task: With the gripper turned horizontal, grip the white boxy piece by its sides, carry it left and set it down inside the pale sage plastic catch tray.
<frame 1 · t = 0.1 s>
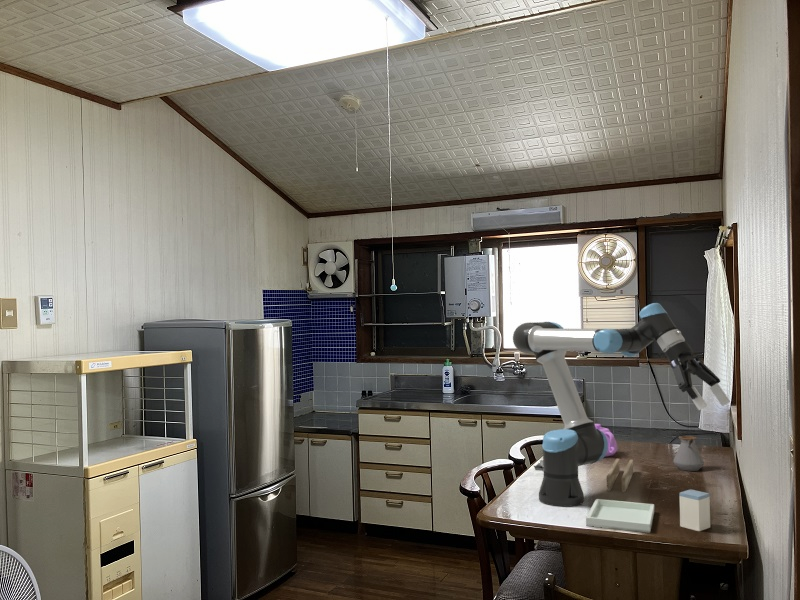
hand: (715, 406, 199), 36 cm above the table, tool tilted 35°, fingers open, 13 cm apart
coffee pot: (689, 472, 266), on the table
catch tray: (621, 518, 207), on the table
white boxy piece: (695, 526, 198), on the table
teapot: (593, 455, 300), on the table
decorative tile: (552, 470, 274), on the table
squeegee caddy: (620, 480, 253), on the table
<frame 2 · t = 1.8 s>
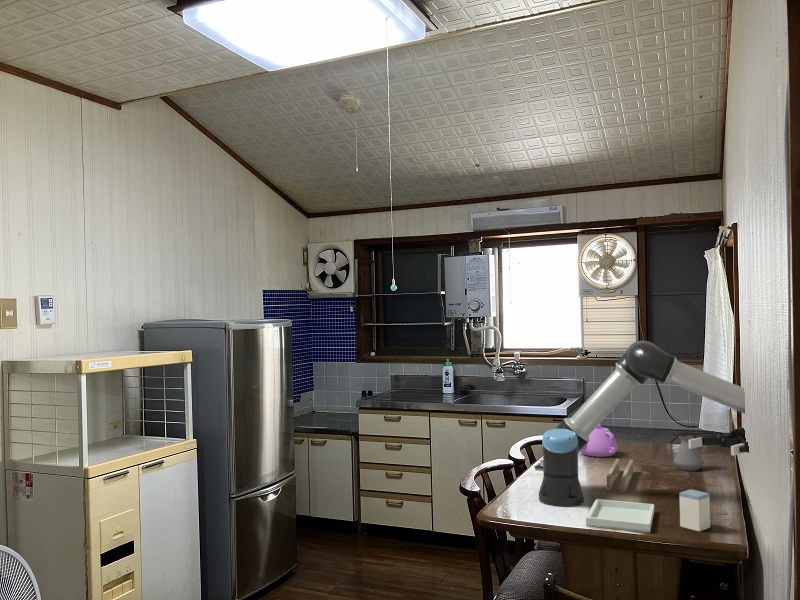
hand: (710, 447, 204), 22 cm above the table, tool horizontal, fingers open, 13 cm apart
nothing on the table moved.
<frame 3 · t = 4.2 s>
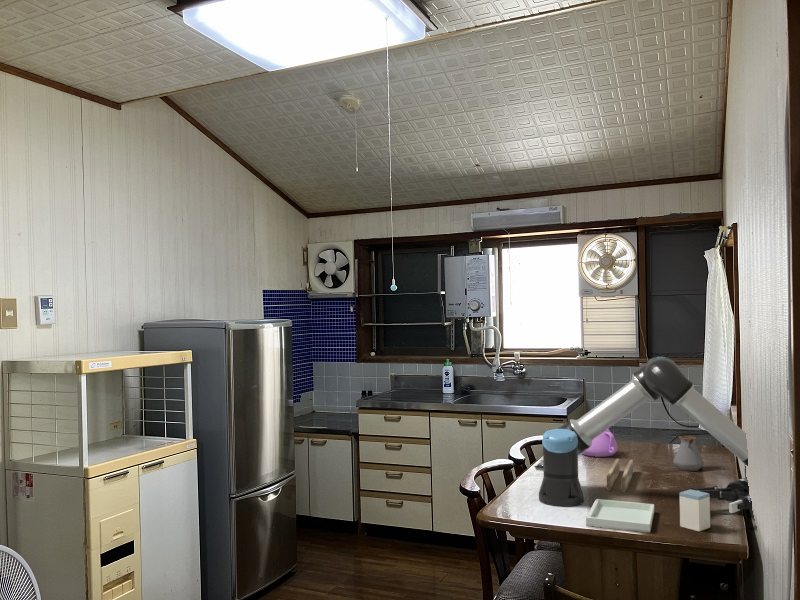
hand: (708, 503, 202), 6 cm above the table, tool horizontal, fingers open, 13 cm apart
nothing on the table moved.
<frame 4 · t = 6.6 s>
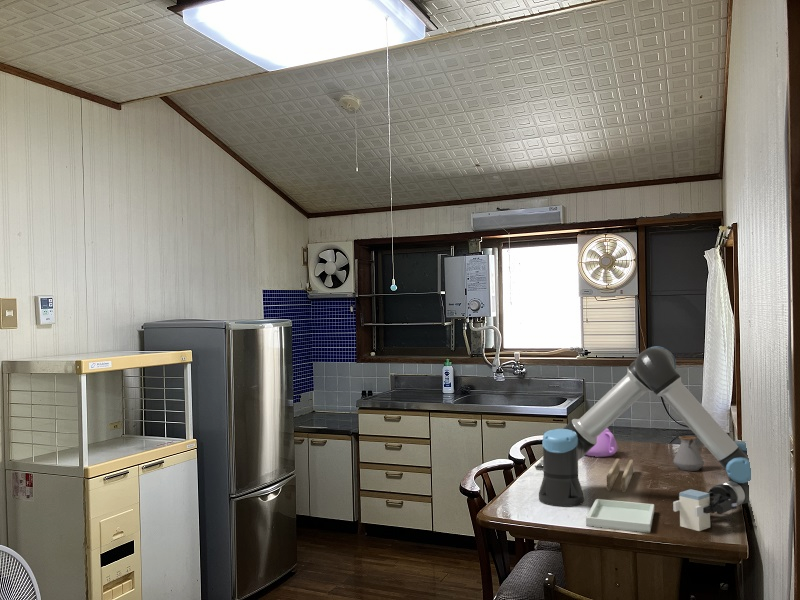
hand: (685, 509, 195), 6 cm above the table, tool horizontal, fingers closed on white boxy piece, 6 cm apart
white boxy piece: (695, 526, 198), on the table, touching gripper
everything else where it was.
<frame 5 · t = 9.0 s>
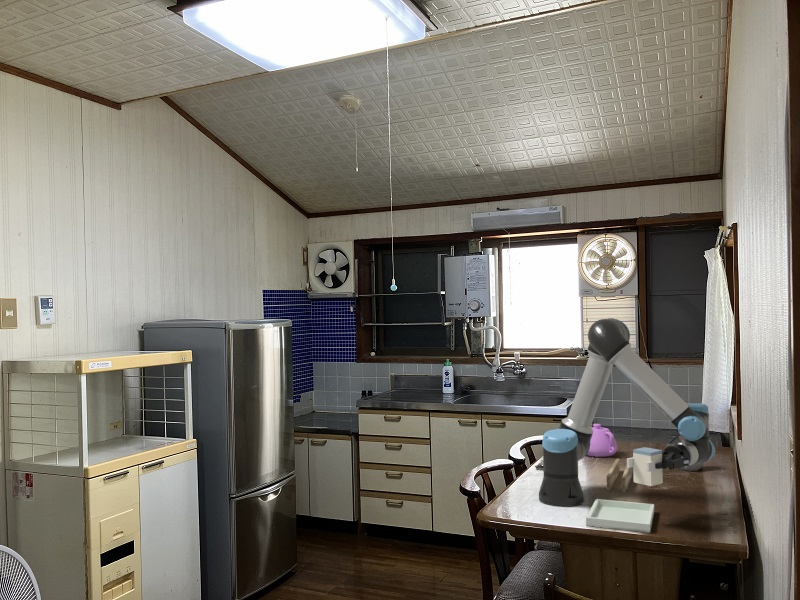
hand: (637, 465, 201), 18 cm above the table, tool horizontal, fingers closed on white boxy piece, 6 cm apart
white boxy piece: (648, 482, 203), point 12 cm above the table, touching gripper
everything else where it was.
when the fingers open (8 cm above the table, at t = 11.7 s): white boxy piece drops 1 cm, resting on catch tray.
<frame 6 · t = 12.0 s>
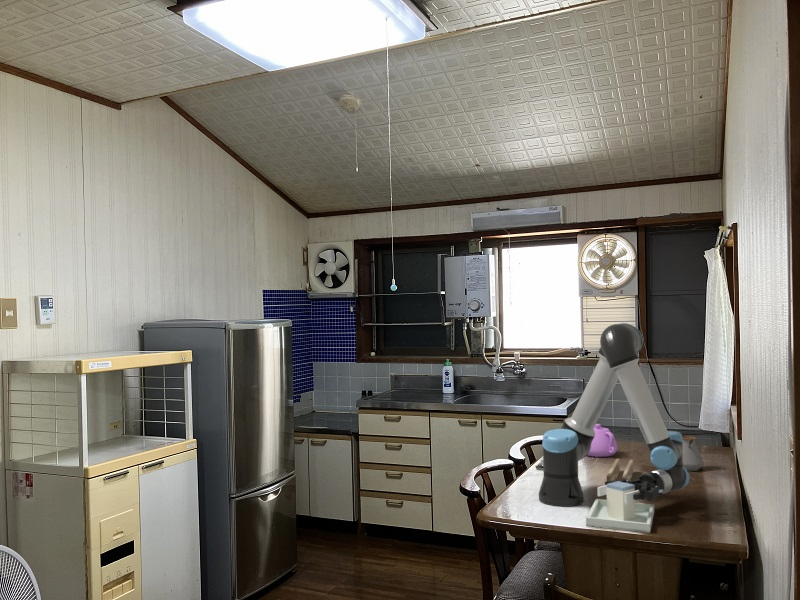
hand: (611, 495, 204), 8 cm above the table, tool horizontal, fingers open, 9 cm apart
white boxy piece: (621, 516, 207), point 1 cm above the table, touching catch tray
everything else where it was.
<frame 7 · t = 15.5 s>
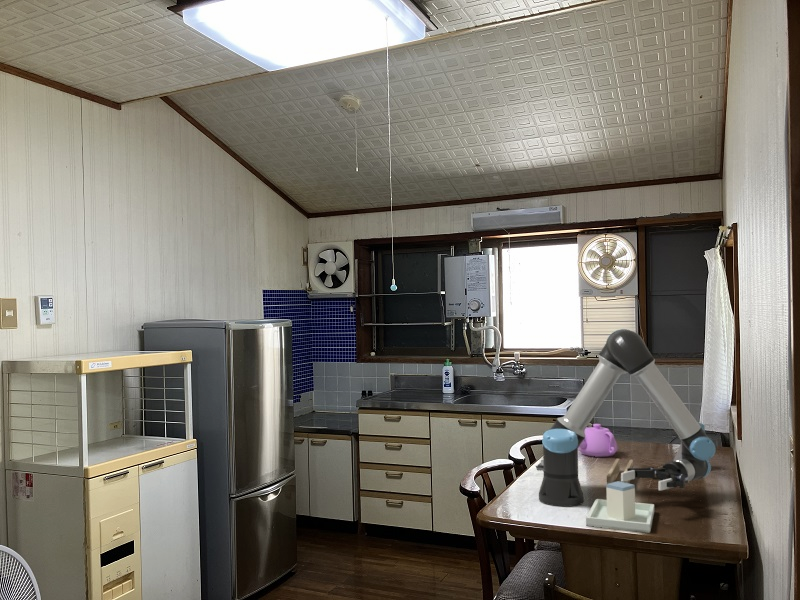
hand: (640, 481, 212), 10 cm above the table, tool horizontal, fingers open, 13 cm apart
nothing on the table moved.
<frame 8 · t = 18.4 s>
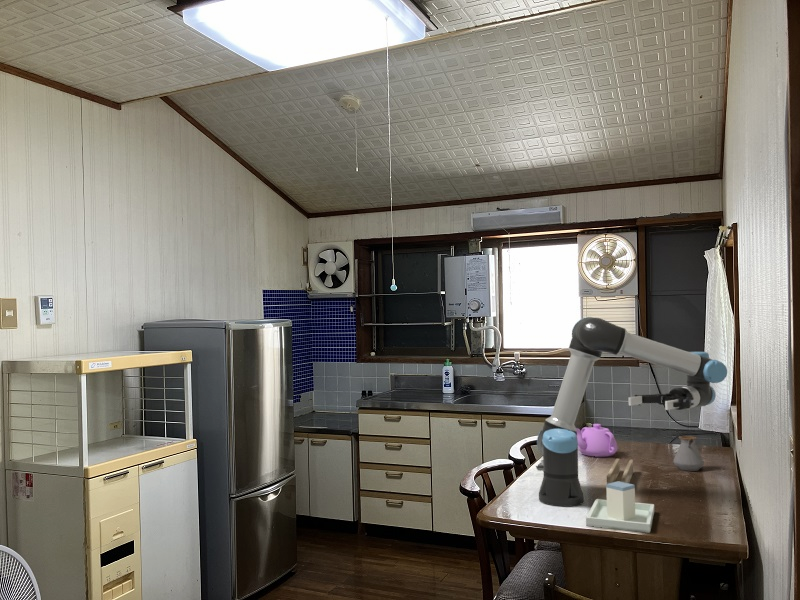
hand: (647, 403, 219), 34 cm above the table, tool horizontal, fingers open, 13 cm apart
nothing on the table moved.
at the end: white boxy piece inside the target area on the catch tray (0.0 cm from its centre), point 0.6 cm above the catch tray's base; white boxy piece tilted 0°; the gripper is holding nothing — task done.
